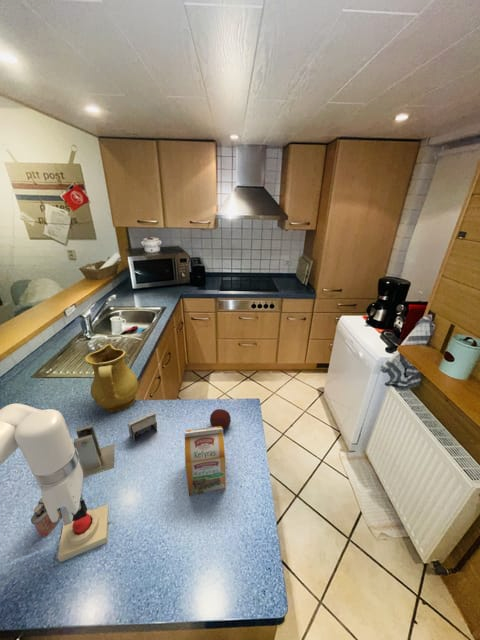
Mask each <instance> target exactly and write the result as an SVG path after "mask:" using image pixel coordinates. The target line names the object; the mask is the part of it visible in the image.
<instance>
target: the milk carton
mask: <svg viewBox="0 0 480 640" xmlns="http://www.w3.org/2000/svg"><path fill="white" fill-rule="evenodd" d="M184 463H185V464H184V465H185V473H186V482H187V490H188V491H187V493H188V497H192V496H197V495H203V494H210V493H215V492H222V491H226V490H227V488H226V485H227V484H226V483H227V481H226V480H227V479H226V448H225V436H224V430H223V428H222V426H218V427H212V426H210V427H203V428H195V429H194V428H193V429H187V430H185V432H184Z"/></svg>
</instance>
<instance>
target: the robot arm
mask: <svg viewBox="0 0 480 640" xmlns="http://www.w3.org/2000/svg"><path fill="white" fill-rule="evenodd" d="M18 448H19V450H20V452H21V454H22V456H23V458H24V460H25V462H26V464H27V465H28V467H29V469H30V471H31V473H32V475H33V477H34V479H35V481H36V484H38V485H39V486H40V493H41V498H43V502H44V505H45V508H46V511H47V513H48V515H49V518H50V520H51V521H52V522H53V523H54V522H57V521H58V517H59V513H61V515H62V522H63V524H64V525H68V524H70V523H72V521H77V520H79V519H81V518H83V517H85V516H86V515H87V513H86V512H87V510H88V507H87V504H86V502H85V500H84V498H83V496H84V495H83V492H82V490H83V484H84V478H83V471H82V468H81V465H80V463H79V456H78V452H77V450H76V448H75V446H74V440H73V439H72V436H71V433H70V430H69V428H68V425H67V423H66V420H65V418H64V415H63V413H61V412H60V411H59V410H57V409H52V408H47V409H39V408H36V407H33V406H31V405H28V404H24V403H18V402H17V403H16V402H15V403H10V404H7V405H5V406H3V407H2V408H0V467H1V466H2V465H3V464H4V463H5V462H6V461H7V460H8V459H9V457H11V456H12V454H13V453H15V452H16V450H17V449H18Z"/></svg>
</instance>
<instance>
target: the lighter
mask: <svg viewBox="0 0 480 640" xmlns="http://www.w3.org/2000/svg"><path fill="white" fill-rule="evenodd" d="M32 511H33V515H32V516H31V518H30V522H31V524H32V525H34V527H35V529H36V530H37V532H38V534H39V535H40V537H42V538H44V537H47V536H48V535H49V534H50V533H51V532H52V531H53V530H54V529H55V528H56V527H57V526H58V524H59V523H60V522H61V520H63V518H62V515H61V513H59V517H58V521H57V522H54V523H53V522H52V521H51V520H50V518H49V515H48V513H47V511H46V508H45V505H44V502H43V498H42V497H41V498H39V500H38V503H37V505H36V506H35V507H34V509H33V510H32Z"/></svg>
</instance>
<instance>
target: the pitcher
mask: <svg viewBox="0 0 480 640" xmlns="http://www.w3.org/2000/svg"><path fill="white" fill-rule="evenodd" d="M126 353H127V352H126V350H125V349H122V348H115V347H114V346H113V344H112V343H107V344H105V345H104V346H103V347H102V348H100V349H98V350H96V351H93V352H90V353H88V355H85V357H84V362H86V363H87V364H88V365H91V366H92V369H93V380H92V382H91V385H90V396H91V398H92V399H93V401H94V402H95V403H96V404H97V406H99V407H101V408H102V409H103V410H104V411H106V412H109V413H117V412H122V411H123V412H124V410H126V409H128V408H130V407H131V406H132V405H133V404H134V403H135V401H136V399H137V394H138V391H139V379H138V377H137V375H136V373H135V372H134V370H132V369H131V368H129V367H128V366H127V364H126V362H125V358H124V357H125V355H126Z"/></svg>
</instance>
